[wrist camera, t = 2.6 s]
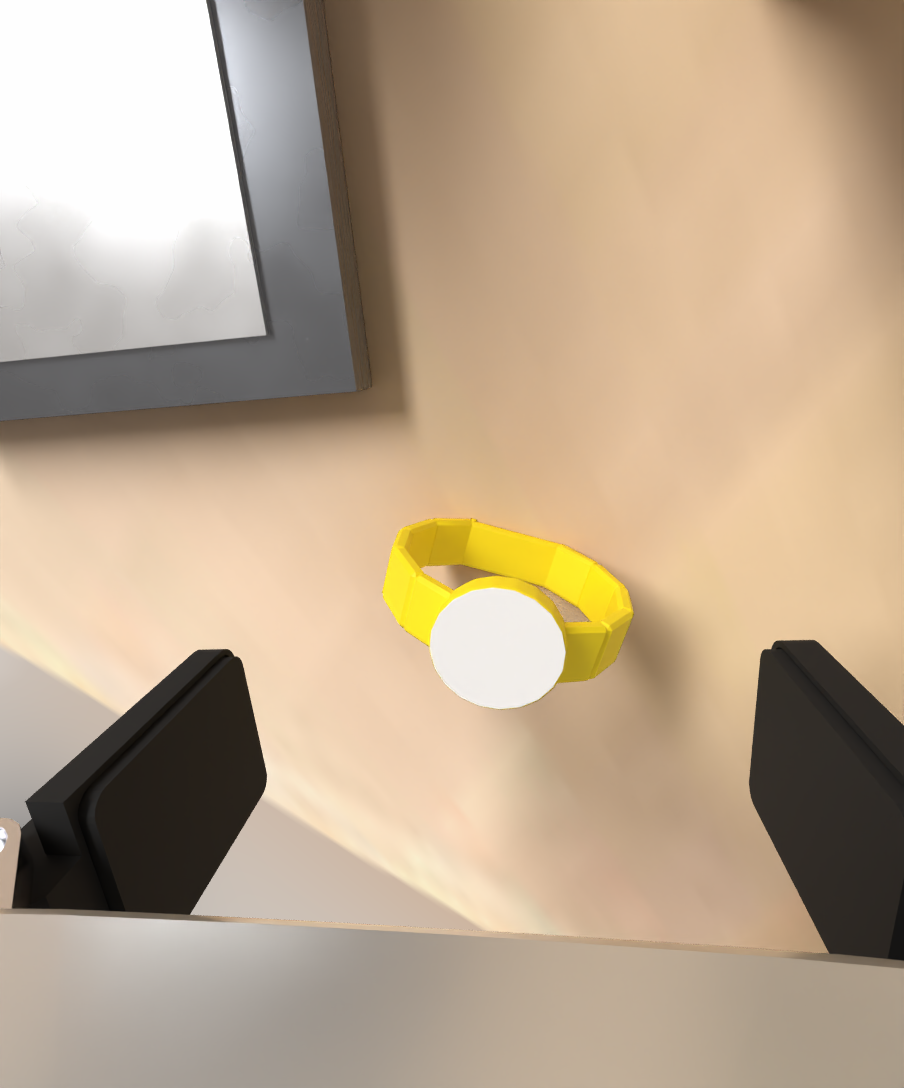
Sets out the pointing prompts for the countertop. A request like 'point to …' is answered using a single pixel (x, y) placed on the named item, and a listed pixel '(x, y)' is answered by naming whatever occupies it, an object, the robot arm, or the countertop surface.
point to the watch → (504, 610)
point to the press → (172, 207)
